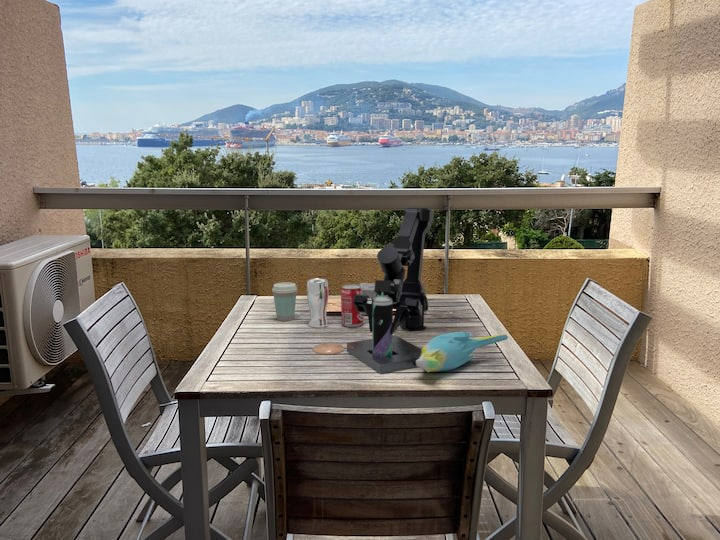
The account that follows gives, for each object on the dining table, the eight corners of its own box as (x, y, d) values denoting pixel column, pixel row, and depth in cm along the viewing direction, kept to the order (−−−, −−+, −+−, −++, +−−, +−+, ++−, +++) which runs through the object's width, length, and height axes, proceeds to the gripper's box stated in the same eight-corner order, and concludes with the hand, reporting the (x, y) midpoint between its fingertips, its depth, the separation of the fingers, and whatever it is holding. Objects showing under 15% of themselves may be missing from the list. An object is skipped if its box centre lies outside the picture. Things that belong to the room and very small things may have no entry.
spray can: (378, 366, 164) (378, 293, 160) (368, 359, 168) (368, 289, 164) (396, 362, 166) (396, 291, 162) (386, 356, 171) (386, 286, 167)
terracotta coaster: (336, 342, 183) (336, 341, 183) (349, 351, 175) (349, 350, 175) (308, 347, 179) (308, 345, 179) (320, 356, 171) (320, 355, 171)
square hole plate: (395, 343, 183) (395, 335, 182) (432, 363, 165) (432, 355, 165) (346, 351, 176) (346, 342, 175) (380, 373, 158) (380, 364, 158)
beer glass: (332, 323, 204) (331, 279, 201) (324, 328, 197) (323, 283, 194) (312, 321, 206) (311, 277, 203) (304, 327, 199) (303, 282, 196)
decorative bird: (396, 374, 158) (396, 340, 156) (465, 347, 179) (466, 316, 177) (438, 389, 148) (439, 353, 146) (507, 358, 169) (508, 326, 167)
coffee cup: (303, 317, 210) (302, 283, 208) (287, 323, 203) (286, 288, 201) (283, 314, 215) (282, 280, 212) (267, 320, 208) (266, 285, 205)
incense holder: (355, 316, 212) (354, 286, 210) (361, 310, 220) (361, 281, 218) (382, 318, 209) (382, 288, 207) (388, 311, 217) (388, 283, 215)
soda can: (360, 328, 197) (360, 289, 195) (339, 327, 199) (338, 288, 196) (365, 322, 204) (364, 284, 202) (344, 321, 206) (343, 283, 203)
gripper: (354, 265, 169) (340, 314, 161) (420, 269, 163) (409, 320, 155) (363, 287, 178) (351, 334, 170) (426, 292, 172) (416, 341, 164)
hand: (380, 332), depth 164 cm, fingers closed on spray can, 5 cm apart
